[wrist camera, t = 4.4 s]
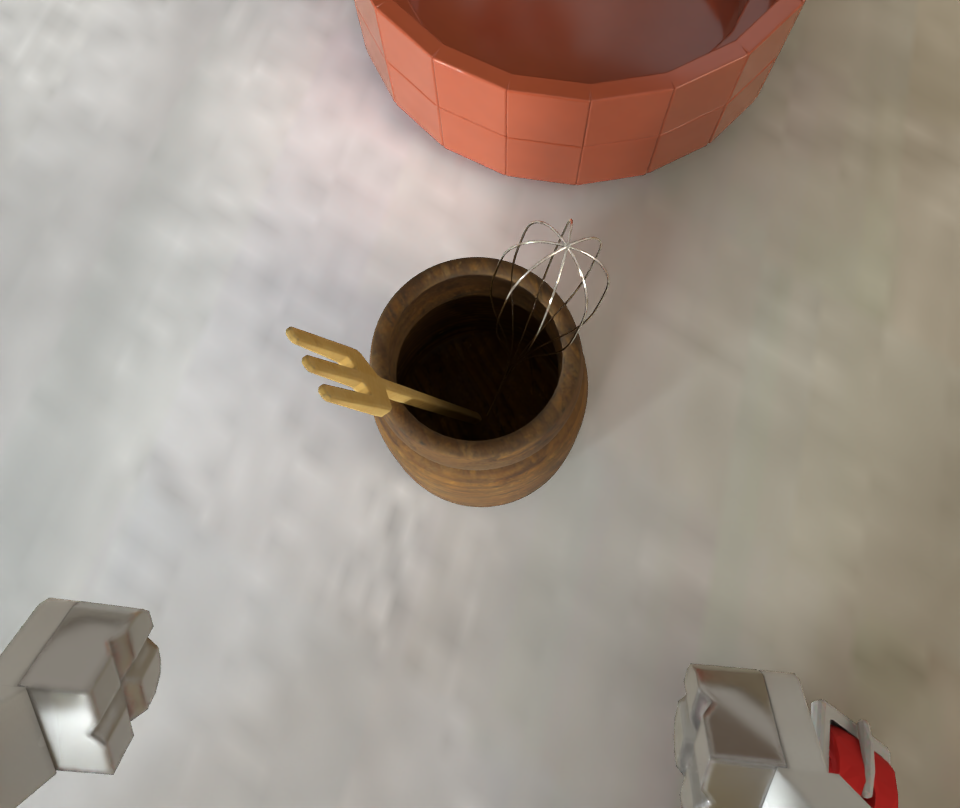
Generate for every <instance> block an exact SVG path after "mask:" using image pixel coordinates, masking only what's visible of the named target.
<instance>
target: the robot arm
mask: <svg viewBox="0 0 960 808" xmlns="http://www.w3.org/2000/svg"><path fill="white" fill-rule="evenodd" d="M153 627H154V626H153V622H152V619H151V615H150V612H149V611H148V610H144V609H138V608H130V607H123V606H115V605H107V604H99V603H91V602H84V601H72V600H64V599H56V598H48V599H46V600H45V601H43V602H42V603H40V604H39V605H38V606H37V607H36V608H35V610H34V611H33V612H32V614H31V615H30V616H29V618H28V619H27V620H26V622H25V623H24V624H23V626H22V627H21V628H20V630H19V631H18V632H17V634H16V635H15V636H14V638H13V639H12V640H11V642H10V643H9V644H8V646H7V647H6V648H5V650H4V651H3V652H2V654H1V655H0V808H16V807H17V806H18V805H19V804H21V803H22V802H23V801H24V800H25V799H27V798H28V797H29V796H30V795H31V794H33V793H34V792H35V791H36V790H37V789H39V788H40V787H41V786H42V785H43V784H45V783H46V782H47V781H48V780H49V779H51V778H52V777H53V776H54V775H55V774H56V770H60V771H72V772H84V773H96V774H109V775H114V773H115V771H116V769H117V767H118V765H119V763H120V761H121V759H122V757H123V755H124V754H125V752H126V750H127V748H128V746H129V744H130V742H131V740H132V738H133V736H134V733H133V730H132V726H131V722H130V721H132V720H133V719H135V718H136V717H137V716H139V715H140V714H142V713H143V712H145V711H146V710H147V709H148V707H149V705H150V703H151V701H152V699H153V697H154V695H155V693H156V689H157V685H158V681H159V677H160V672H161V658H160V653H159V648H158V646H157V645H155V644H154V643H153V642H152V641H151V640H150V639H149V638H148V636H149V634H150V632H151V630H152V629H153ZM684 685H685V692H686V696H685V697H683V698H682V699H681V700H679V701H678V705H677V710H676V714H675V723H674V753H675V762H676V767H677V768H678V769H679V771H680V772H681V773H682V774H683V775H684V781H683V785H682V788H681V792H680V801H681V808H872V807H871V806H870V805H869V804H868V803H867V802H866V801H865V800H864V799H863V798H862V797H861V796H860V795H859V794H858V793H857V792H856V791H855V790H854V789H853V788H852V787H851V786H850V785H849V784H848V783H847V782H846V781H845V780H844V779H843V778H842V777H841V776H840V775H839V774H834V773H828V770H827V767H826V764H825V761H824V757H823V754H822V751H821V748H820V744H819V741H818V738H817V735H816V731H815V728H814V725H813V722H812V718H811V715H810V712H809V709H808V706H807V702H806V699H805V696H804V693H803V689H802V686H801V683H800V680H799V678H798V677H797V676H796V675H795V673H786V672H775V671H765V670H759V671H758V670H757V669H748V668H736V667H725V666H714V665H703V664H690V665H689V667H688V668H687V671H686V675H685V678H684Z"/></svg>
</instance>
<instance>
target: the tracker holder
mask: <svg viewBox="0 0 960 808" xmlns="http://www.w3.org/2000/svg"><path fill="white" fill-rule="evenodd" d="M811 718H812V722H813V725H814V728H815V731H816V735H817V738H818V741H819V744H820V748H821V751H822V754H823V757H824V761H825V764H826V767H827V770H828V773H834V774H839V775H840V776H841V777H842V778H843V779H844V780H845V781H846V782H847V783H848V784H849V785H850V786H851V787H852V788H853V789H854V790H855V791H856V792H857V793H858V794H859V795H860V796H861V797H862V798H863V799H864V800H865V801H866V802H867V803H868V804H869V805H870V806H871V807H872V808H898V792H897V785H896V778H895V772H894V770H893V768H892V767H891V766H890V752H889V750H888V748H887V747H886V746H885V745H883V744H882V743H881V742H879V741H878V740H877V739H875V738H874V737H873V736H872V734H871V729H870V724H869V723H868V722H867V721H866V720H864V719H863V720H859V721H858V722H857V723H856V724H855V723H854V722H853V721H851V720H850V719H849V718H847V717H846V716H845V715H843V714H842V713H841V712H839V711H838V710H837V709H836V708H834V707H833V706H832V705H830V704H829V703H828V702H826V701H825V700H822V699H820V700H816V701H814V702H812V703H811Z"/></svg>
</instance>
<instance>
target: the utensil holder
mask: <svg viewBox="0 0 960 808" xmlns="http://www.w3.org/2000/svg"><path fill="white" fill-rule="evenodd" d="M570 222H571V223H570ZM534 223H541V224H544V225H546V226H547V227H549V228H550V229H551V230H553V231H554V232H555V233H556V234H557V235H558V237H559V238H560V239H559V241H558V243H557V242H551V241H527V242H522V240H523V238H524V235H525V233H526V231H527V229H528V228H529V226H531V225H532V224H534ZM569 223H570V230H569V235H568V240H567V243H566V242H565V240H564V239H563V238H562V237H563V235H564V233H565V231H566V228H567V226H568V224H569ZM572 226H573V220H572V219H569V220H568V222H567V224H566V226H565V228H564V230H563V232H562V234H561V235H560V234H559V233H558V232H557V231H556V230H555V229H554V228H553V227H552V226H550V225H549V224H547V223H545V222H542V221H533V222H531V223H530V224H528V225H527V227H526V229H525V230H524V232H523V235H522V237H521V239H520V242H519V244H516V245H514V246H512V247H510V248H509V249H507V250H506V251H505V252H504V253H503V255H502V256H501V258H500V260H499V259H493V258H484V257H470V258H460V259H455V260H450V261H447V262H443V263H440V264H438V265H435V266H433V267H431V268H428V269H426V270H425V271H423V272H421V273H419V274H418V275H416V276H415V277H413V278H412V279H411V280H409V281H408V282H407V283H406V284H405V285H404V286H403V287H401V288H400V289H399V291H398V292H397V293H396V294H395V295H394V296H393V297H392V299H391V300H390V301H389V303H388V304H387V306H386V307H385V309H384V311H383V313H382V314H381V316H380V319H379V321H378V323H377V326H376V329H375V332H374V336H373V340H372V345H371V354H370V365H369V363H368V362H367V361H366V360H365V358H364V357H363V356H362V354H361V353H360V352H358V351H357V350H355V349H353V348H351V347H348V346H345V345H342V344H339V343H337V342H334V341H331V340H328V339H325V338H322V337H319V336H317V335H314V334H311V333H308V332H305V331H302V330H300V329H297V328H294V327H289V328H288V329H287V330H286V335H287V337H288V339H289V340H290V341H291V342H292V343H294V344H296V345H299V346H301V347H303V348H306V349H308V350H310V351H313V352H315V353H317V354H320V355H322V356H324V357H327V358H329V359H331V360H334V361H336V362H338V363H339V364H336V363H333V362H329V361H326V360H322V359H319V358H316V357H312V356H309V355H306V356H304V357H303V358H302V364H303V365H304V367H305V368H306V369H307V370H308V371H309V372H311V373H314V374H317V375H319V376H322V377H325V378H327V379H330V380H333V381H336V382H338V383H341V384H344V385H347V386H349V387H352V388H353V389H354V390H355V391H351V390H347V389H343V388H339V387H334V386H330V385H326V384H322V385H321V386H319V389H318V392H319V394H320V395H321V397H322V398H323V399H324V400H325V401H327V402H331V403H334V404H337V405H341V406H344V407H347V408H351V409H354V410H357V411H361V412H364V413H368V414H371V415H374V417H375V421H376V424H377V426H378V429H379V431H380V433H381V435H382V437H383V439H384V441H385V443H386V445H387V446H388V448H389V449H390V451H391V453H392V454H393V455H394V457H395V458H396V459H397V461H398V462H399V463H400V465H401V466H402V467H403V469H404V470H405V471H406V472H407V473H408V474H409V475H410V476H411V477H412V478H413V479H414V480H415V481H416V482H417V483H418V484H419V485H421V486H422V487H423V488H425V489H426V490H428V491H429V492H431V493H432V494H434V495H436V496H438V497H440V498H442V499H444V500H447V501H450V502H452V503H456V504H460V505H465V506H472V507H491V506H498V505H503V504H507V503H510V502H514V501H516V500H519V499H521V498H523V497H525V496H527V495H529V494H531V493H532V492H534V491H535V490H537V489H538V488H540V487H541V486H542V485H543V484H545V483H546V482H547V481H548V480H549V479H550V478H551V477H552V476H553V475H554V474H555V473H556V471H557V470H558V469H559V468H560V466H561V465H562V463H563V462H564V460H565V459H566V457H567V455H568V454H569V452H570V450H571V448H572V446H573V444H574V441H575V439H576V437H577V434H578V432H579V429H580V427H581V424H582V420H583V417H584V413H585V409H586V403H587V395H588V376H587V368H586V363H585V358H584V355H583V352H582V346H581V341H580V337H579V334H578V332H579V330H580V328H581V326H582V325H584V324H585V323H586V322H587V321H588V320H589V319H590V318H591V317H592V316H593V315H594V313H595V312H596V311H597V309H598V307H599V306H600V304H601V302H602V300H603V298H604V296H605V294H606V292H607V290H608V288H609V284H610V279H609V275H608V272H607V270H606V269H605V267H604V266H603V264H602V263H601V262H600V261H598V260H597V257H598V255H599V253H600V251H601V248H602V242H601V240H600V239H599V238H597V237H588V238H584V239H580V240H578V241H575V242H573V243H571V244H569V242H570V237H571V232H572ZM590 239H595V240H598V241H599V243H600V247H599V250H598V252H597V254H596V257H593V256H592V255H590V254H588V253H586V252H584V251H582V250H580V249H577V248H575V247H572V245H574V244H576V243H579V242H582V241H585V240H590ZM561 240H562V242H563V243H564V244H561V243H560V241H561ZM521 242H522V243H521ZM529 243H548V244H554V245H556V247H555V250H554V252H553V253H551V254H550V255H548V256H547V257H545V258H544V259H542V260H541V261H540V262H538V263H537V264H536V265H534V266H533V267H532V268H531V269H530V270H527V269H525V268H523V267H521V266H518V265H516V264H514V263H515V259H516V256H517V253H518V250H519V247H520V245H524V244H529ZM517 246H518V247H517ZM558 246H563V247H562V248H560V249H558V250H557V248H558ZM567 246H568V247H567ZM515 247H517V249H516V252H515V255H514V259H513V263H510V262H507V261H503V260H502V259H503V257H504V256H505V254H506V253H507V252H509V251H510V250H511V249H513V248H515ZM564 249H565V252H564V256H563V260H562V264H561V267H560V271H559V274H558V277H557V281H556V284H555V287H554V290H553V289H552V288H551V287H550V286H549V285H548V284H547V283H546V282H545V281H544V280H545V277H546V274H547V272H548V269H549V267H550V264H551V262H552V259H553V257H554V255H555V254H556V253H558V252H560V251H562V250H564ZM571 249H573V250H576V251H579V252H581V253H583V254H585V255H587V256H589V257H590V258H592V259H594V261H593V263H592V265H591V267H590V268H589V270H588V272H587V274H586V276H585V277H584V276H583V273H582V271H581V268H580V266H579V264H578V262H577V260H576V258H575V256H574V254H573V252H572V251H571ZM556 250H557V251H556ZM567 250H568V251H569V252H570V254H571V255H572V257H573V259H574V261H575V263H576V265H577V267H578V270H579V272H580V275H581V278H582V282H581V283H580V285H579V286H578V288H577V289H576V290H575V292H574V293H573V294H572V295H571V296H570V298H569V299H568V300H567V301H566V302H565V303H564V302H563V300H562V299H561V298H560V296H559V295H558V294H557V293H556V292H555V291H556V288H557V285H558V282H559V279H560V276H561V272H562V269H563V265H564V262H565V258H566V254H567ZM551 256H552V257H551ZM550 257H551V259H550V261H549V264H548V266H547V269H546V272H545V274H544V277H543V280H542V279H541V278H540V277H538V276H537V275H535V274H534V273H532V272H531V271H532V270H533V269H534V268H536V267H537V266H538V265H539V264H541V263H542V262H544V261H545V260H546V259H548V258H550ZM595 261H596V262H597V263H598V264H599V265H600V266H601V267H602V268H603V270H604V271H605V273H606V276H607V287H606V289H605V292H604V294H603V296H602V297H601V299H600V301H599V303H598V305H597V307H596V308H595V310H594V311H593V313H592V314H591V315H590V316H589V318H588V319H586V320H585V317H586V315H587V310H588V294H587V288H586V283H585V279H586V278H587V276H588V274H589V273H590V271H591V269H592V267H593V265H594V263H595ZM582 284H583V285H584V290H585V298H586V308H585V313H584V316H583V319H582V321H581V323H580V325H579V326H577V327H576V325H575V322H574V320H573V317H572V315H571V313H570V311H569V310H568V308H567V306H566V304H567V303H568V302H569V301H570V299H571V298H572V297H573V296H574V295H575V293H576V292H577V291H578V290H579V288H580V287H581V285H582ZM584 320H585V321H584Z"/></svg>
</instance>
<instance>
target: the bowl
mask: <svg viewBox="0 0 960 808" xmlns="http://www.w3.org/2000/svg"><path fill="white" fill-rule="evenodd" d="M354 1H355V6H356V10H357V14H358V18H359V22H360V26H361V30H362V34H363V38H364V42H365V46H366V49H367V52H368V54H369V56H370V58H371V59H372V61H373V63H374V65H375V67H376V69H377V71H378V72H379V74H380V76H381V78H382V80H383V82H384V83H385V85H386V87H387V89H388V91H389V93H390V95H391V96H392V98H393V100H394V101H395V102H396V104H397V105H398V106H399V107H400V108H401V109H402V110H403V111H404V112H406V113H407V114H408V115H409V116H410V117H411V118H412V119H413V120H414V121H415V122H417V123H418V124H419V125H420V126H421V127H422V128H423V129H424V130H425V131H426V132H428V133H429V134H430V135H431V136H432V137H433V138H434V139H435V140H436V141H437V142H439V143H440V144H441V145H442V146H444V147H445V148H446V149H448V150H451V151H453V152H455V153H457V154H459V155H462V156H464V157H466V158H468V159H470V160H473V161H475V162H477V163H479V164H481V165H484V166H486V167H488V168H490V169H492V170H495V171H497V172H499V173H501V174H503V175H507V176H511V177H519V178H526V179H534V180H541V181H548V182H556V183H563V184H570V185H576V184H577V185H581V184H588V183H595V182H601V181H608V180H614V179H621V178H627V177H634V176H641V175H645V174H646V173H650V172H652V171H654V170H656V169H658V168H660V167H662V166H664V165H666V164H669V163H671V162H673V161H675V160H677V159H679V158H681V157H683V156H685V155H687V154H689V153H692V152H694V151H696V150H698V149H700V148H702V147H704V146H706V145H707V144H708V143H710V142H712V141H713V140H714V139H715V138H716V137H717V136H718V135H719V134H720V133H721V132H722V131H723V130H724V129H725V128H726V127H727V126H729V125H730V124H731V123H732V122H733V121H734V120H735V119H736V118H737V117H738V116H739V115H740V114H741V113H742V112H743V111H744V110H745V109H746V108H747V107H748V106H749V105H750V104H751V103H753V102H754V100H755V98H757V96H758V94H759V92H760V90H761V88H762V86H763V84H764V82H765V80H766V78H767V76H768V74H769V72H770V70H771V68H772V66H773V64H774V62H775V60H776V58H777V57H778V55H779V53H780V51H781V49H782V47H783V45H784V43H785V41H786V39H787V37H788V35H789V33H790V31H791V29H792V27H793V25H794V23H795V21H796V19H797V17H798V15H799V13H800V11H801V9H802V7H803V5H804V3H805V1H806V0H354Z"/></svg>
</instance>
